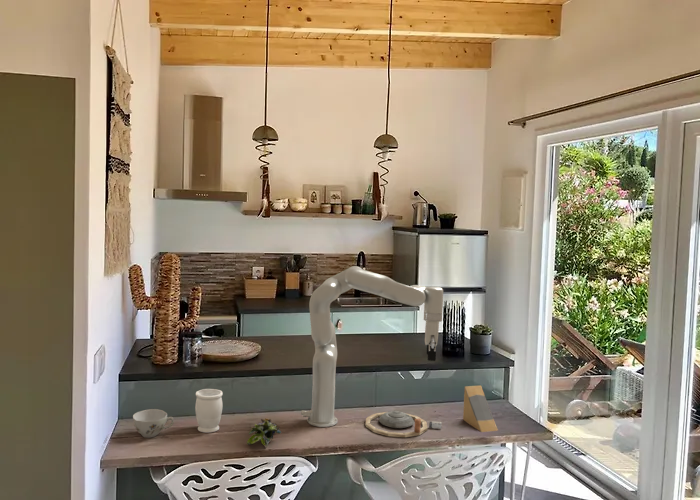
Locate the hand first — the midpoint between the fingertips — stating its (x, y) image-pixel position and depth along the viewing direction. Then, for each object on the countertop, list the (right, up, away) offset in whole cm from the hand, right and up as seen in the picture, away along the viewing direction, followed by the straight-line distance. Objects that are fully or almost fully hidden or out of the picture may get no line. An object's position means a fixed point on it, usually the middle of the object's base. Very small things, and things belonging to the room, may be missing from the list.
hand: (430, 357), depth 250 cm
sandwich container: (+22, -31, +8) cm, 39 cm away
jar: (-90, -27, -9) cm, 95 cm away
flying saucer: (-14, -30, +6) cm, 33 cm away
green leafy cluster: (-66, -29, -22) cm, 75 cm away
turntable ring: (-14, -29, +3) cm, 33 cm away
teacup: (-110, -27, -17) cm, 114 cm away
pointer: (+3, -30, +2) cm, 30 cm away
